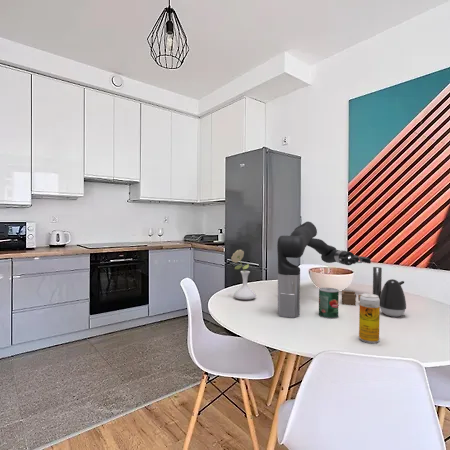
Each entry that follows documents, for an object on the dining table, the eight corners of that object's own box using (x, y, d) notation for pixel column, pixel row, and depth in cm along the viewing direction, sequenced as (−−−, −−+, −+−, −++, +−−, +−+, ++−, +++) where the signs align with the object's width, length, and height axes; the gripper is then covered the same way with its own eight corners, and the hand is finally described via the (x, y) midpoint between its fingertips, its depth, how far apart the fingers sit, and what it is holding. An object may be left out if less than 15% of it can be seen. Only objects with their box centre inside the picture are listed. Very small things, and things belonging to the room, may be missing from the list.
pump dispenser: (412, 318, 129) (413, 281, 129) (389, 319, 127) (390, 281, 127) (395, 311, 139) (395, 276, 139) (373, 312, 137) (374, 277, 137)
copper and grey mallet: (396, 306, 143) (397, 269, 143) (358, 303, 149) (359, 267, 148) (395, 305, 147) (395, 268, 147) (358, 301, 152) (358, 266, 152)
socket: (355, 305, 147) (355, 295, 147) (342, 304, 149) (342, 293, 149) (354, 301, 154) (354, 291, 154) (341, 300, 156) (341, 290, 156)
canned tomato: (338, 319, 126) (338, 292, 126) (317, 317, 129) (318, 290, 128) (338, 314, 133) (338, 288, 133) (319, 312, 136) (319, 287, 136)
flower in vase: (250, 295, 166) (251, 248, 165) (259, 300, 155) (260, 250, 155) (227, 296, 162) (228, 248, 161) (235, 302, 151) (235, 250, 151)
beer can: (359, 342, 102) (360, 296, 102) (358, 336, 108) (359, 292, 108) (380, 345, 100) (380, 298, 100) (378, 338, 106) (378, 294, 106)
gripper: (332, 251, 173) (350, 254, 157) (355, 250, 176) (375, 253, 160) (332, 264, 173) (349, 269, 157) (355, 263, 176) (374, 268, 160)
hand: (362, 261), depth 159 cm, fingers open, 8 cm apart
